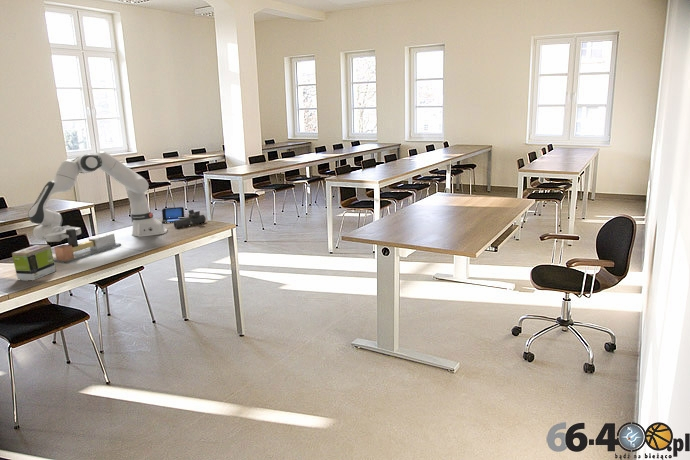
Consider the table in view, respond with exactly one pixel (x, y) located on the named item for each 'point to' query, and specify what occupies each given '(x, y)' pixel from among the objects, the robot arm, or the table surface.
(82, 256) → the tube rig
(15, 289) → the table surface
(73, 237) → the hammer
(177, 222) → the laser sight
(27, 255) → the tea box
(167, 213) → the handheld game console
